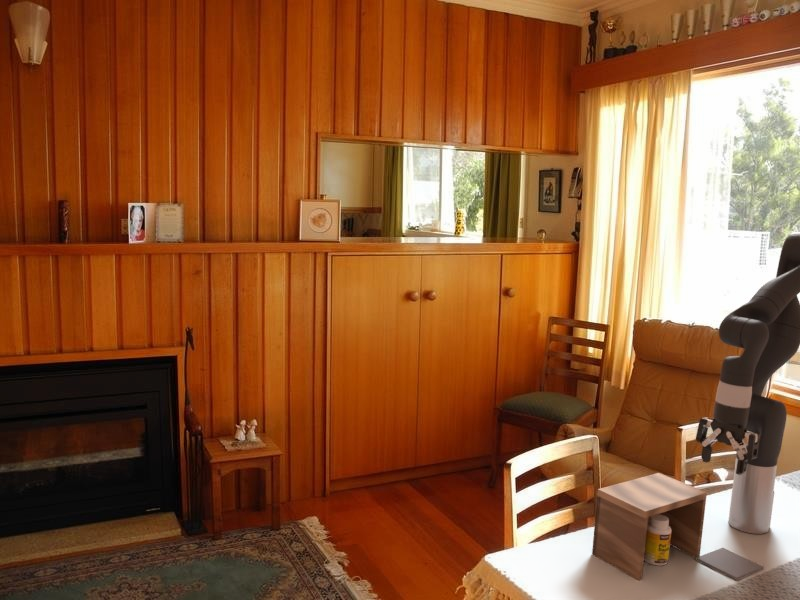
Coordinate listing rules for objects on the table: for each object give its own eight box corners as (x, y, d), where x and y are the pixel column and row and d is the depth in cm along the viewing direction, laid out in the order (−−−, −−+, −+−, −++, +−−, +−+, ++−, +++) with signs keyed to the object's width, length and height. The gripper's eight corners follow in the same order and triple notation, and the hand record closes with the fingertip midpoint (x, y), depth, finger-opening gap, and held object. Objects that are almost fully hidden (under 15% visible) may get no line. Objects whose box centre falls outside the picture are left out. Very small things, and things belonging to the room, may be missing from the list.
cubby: (652, 533, 183) (658, 472, 181) (699, 557, 173) (706, 492, 170) (592, 554, 172) (597, 489, 169) (638, 580, 161) (645, 511, 159)
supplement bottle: (657, 569, 166) (661, 525, 165) (636, 558, 171) (641, 515, 169) (673, 563, 169) (678, 519, 168) (652, 552, 174) (657, 510, 172)
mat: (722, 549, 177) (722, 547, 177) (763, 568, 168) (763, 566, 168) (696, 560, 171) (696, 557, 171) (736, 580, 163) (736, 577, 163)
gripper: (770, 408, 174) (759, 476, 176) (713, 392, 185) (704, 455, 188) (753, 412, 170) (742, 481, 172) (696, 394, 181) (686, 460, 183)
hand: (722, 467), depth 180 cm, fingers open, 8 cm apart
